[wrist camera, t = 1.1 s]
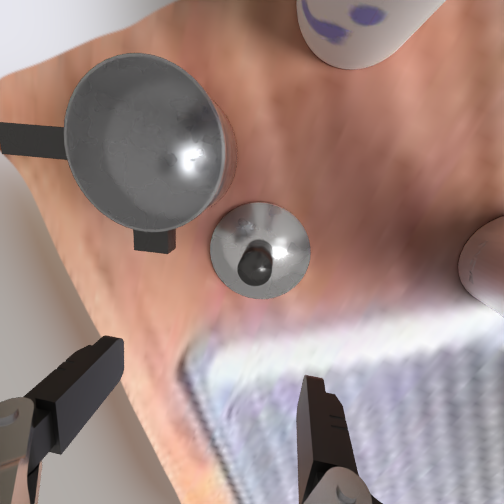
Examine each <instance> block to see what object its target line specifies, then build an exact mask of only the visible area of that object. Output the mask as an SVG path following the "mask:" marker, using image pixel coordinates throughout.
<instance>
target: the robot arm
mask: <svg viewBox="0 0 504 504" xmlns="http://www.w3.org/2000/svg"><path fill="white" fill-rule="evenodd" d="M458 270H459V277H460V280H461V283H462V284H463V286H464V287H465V289H466V290H467V291H468V292H469V293H470V294H471V295H472V296H474V297H475V298H476V299H478V300H479V301H481V302H482V303H484V304H485V305H487V306H488V307H490V308H491V309H493V310H494V311H496V312H497V313H499V314H500V315H501V316H503V317H504V216H502V217H499V218H497V219H495V220H493V221H490V222H489V223H487V224H486V225H484V226H483V227H481V228H480V229H479V230H477V231H476V232H475V233H474V234H473V235H472V236H471V237H470V239H469V240H468V242H467V243H466V244H465V246H464V248H463V250H462V252H461V255H460V259H459V264H458ZM123 371H124V341H123V339H121V338H116V337H111V336H103V337H102V338H100V339H99V340H98V341H97V342H96V343H95V344H94V345H93V346H91V345H88V346H86V347H84V348H82V349H80V350H78V351H76V352H75V353H74V354H72V355H71V356H70V357H69V358H68V359H67V360H66V362H63V363H62V364H61V365H60V366H59V367H58V368H57V369H55V370H54V371H53V372H52V373H50V374H49V375H48V376H47V377H46V378H45V379H43V380H42V381H41V382H40V383H39V384H38V385H36V387H34V388H33V389H32V390H31V391H30V392H29V393H27V394H26V395H25V396H24V397H18V398H11V399H8V400H5V401H2V402H0V504H38V497H39V488H40V480H41V471H42V459H43V458H44V457H45V456H46V455H47V453H48V452H52V453H56V454H62V453H63V452H64V450H65V449H66V448H67V447H68V445H69V444H70V443H71V442H72V440H73V439H74V438H75V437H76V435H77V434H78V433H79V432H80V430H81V429H82V428H83V426H84V425H85V424H86V423H87V421H88V420H89V419H90V418H91V416H92V415H93V414H94V413H95V411H96V410H97V409H98V408H99V406H100V405H101V404H102V402H103V401H104V400H105V399H106V398H107V396H108V395H109V394H110V392H111V391H112V390H113V389H114V387H115V386H116V385H117V384H118V382H119V381H120V379H121V377H122V374H123ZM296 422H297V454H298V487H299V504H383V503H381V502H379V501H378V500H377V499H376V498H374V497H373V496H372V495H371V494H370V492H369V490H368V488H367V486H366V484H365V483H364V481H363V480H362V479H361V478H360V477H359V475H358V471H357V467H356V463H355V458H354V454H353V449H352V445H351V441H350V436H349V432H348V427H347V423H346V421H345V414H344V410H343V406H342V404H341V403H340V401H339V400H338V398H337V397H336V395H335V394H330V393H326V391H325V385H324V380H323V378H318V377H313V376H308V375H305V376H304V379H303V383H302V388H301V392H300V397H299V401H298V406H297V417H296Z"/></svg>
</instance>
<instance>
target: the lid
mask: <svg viewBox="0 0 504 504" xmlns="http://www.w3.org/2000/svg"><path fill="white" fill-rule="evenodd" d="M210 255H211V261H212V264H213V267H214V269H215V272H216V273H217V275H218V277H219V278H220V279H221V280H222V282H223V283H224V284H225V285H226V286H227V287H229V288H230V289H231V290H233V291H234V292H236V293H238V294H240V295H242V296H245V297H249V298H254V299H269V298H274V297H278V296H280V295H283V294H285V293H287V292H288V291H290V290H291V289H293V288H294V287H295V286H296V285H297V284H298V283H299V282H300V281H301V279H302V278H303V276H304V275H305V273H306V271H307V268H308V265H309V261H310V243H309V239H308V236H307V233H306V231H305V229H304V227H303V225H302V224H301V223H300V221H299V220H298V219H297V218H296V217H295V216H294V215H293V214H292V213H291V212H289V211H288V210H286V209H284V208H282V207H280V206H278V205H275V204H272V203H266V202H254V203H248V204H244V205H241V206H239V207H237V208H235V209H233V210H232V211H230V212H229V213H228V214H226V215H225V216H224V217H223V218H222V219H221V221H220V222H219V223H218V225H217V227H216V228H215V230H214V233H213V235H212V239H211V245H210Z"/></svg>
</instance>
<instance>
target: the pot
mask: <svg viewBox="0 0 504 504" xmlns="http://www.w3.org/2000/svg"><path fill="white" fill-rule="evenodd" d="M0 144H1V149H2V154H10V155H21V156H31V157H42V158H53V159H64V160H68V163H69V166H70V169H71V171H72V174H73V176H74V178H75V180H76V182H77V184H78V186H79V187H80V189H81V190H82V192H83V193H84V195H85V196H86V197H87V198H88V200H89V201H90V202H91V203H92V204H93V205H94V206H95V207H96V208H97V209H98V210H99V211H100V212H101V213H103V214H104V215H105V216H107V217H108V218H110V219H111V220H113V221H115V222H116V223H118V224H121V225H123V226H125V227H128V228H131V229H133V233H134V250H138V251H147V252H155V253H164V254H168V253H170V252H171V251H172V250H174V249H175V248H176V228H178V227H180V226H183V225H185V224H186V223H188V222H190V221H192V220H193V219H195V218H196V217H197V216H199V215H200V214H201V213H202V212H203V211H205V210H207V209H208V208H210V207H212V206H213V205H214V204H216V203H217V202H218V201H219V200H220V199H221V198H222V197H223V196H224V194H225V193H226V192H227V190H228V189H229V187H230V185H231V183H232V181H233V178H234V175H235V171H236V167H237V143H236V139H235V135H234V132H233V129H232V126H231V124H230V122H229V120H228V118H227V117H226V115H225V114H224V112H223V111H222V110H221V108H220V107H219V106H218V105H217V104H216V103H215V102H214V101H213V100H212V99H211V98H210V97H209V96H208V94H207V93H206V91H205V90H204V89H203V88H202V87H201V85H200V84H199V83H198V82H197V81H196V80H195V79H194V78H193V77H192V76H191V75H189V74H188V73H187V72H186V71H185V70H183V69H182V68H180V67H179V66H177V65H176V64H174V63H172V62H170V61H168V60H166V59H164V58H161V57H157V56H154V55H150V54H143V53H127V54H122V55H117V56H114V57H111V58H109V59H106V60H104V61H103V62H101V63H99V64H97V65H96V66H95V67H93V68H92V69H91V70H90V71H88V73H87V74H86V75H85V76H84V77H83V78H82V79H81V80H80V82H79V83H78V85H77V86H76V88H75V90H74V92H73V94H72V96H71V98H70V101H69V104H68V107H67V110H66V115H65V121H64V127H52V126H40V125H28V124H16V123H4V122H0Z"/></svg>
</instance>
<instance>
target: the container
mask: <svg viewBox="0 0 504 504" xmlns="http://www.w3.org/2000/svg"><path fill="white" fill-rule="evenodd" d="M445 1H446V0H297V4H296V5H297V17H298V23H299V27H300V30H301V33H302V35H303V37H304V39H305V41H306V43H307V45H308V46H309V48H310V49H311V50H312V51H313V53H314V54H315V55H316V56H318V57H319V58H320V59H321V60H323V61H324V62H326V63H327V64H330V65H332V66H334V67H337V68H342V69H362V68H367V67H370V66H373V65H375V64H378V63H380V62H381V61H383V60H385V59H386V58H388V57H389V56H391V55H392V54H393V53H395V52H396V51H397V50H398V49H399V48H400V47H401V46H402V45H403V44H404V43H405V42H406V41H407V40H408V39H409V38H410V37H411V36H412V35H413V34H414V33H415V32H416V31H417V30H418V28H419V27H420V26H421V25H422V24H423V23H424V22H425V21H426V20H427V19H428V18H429V17H430V16H431V15H432V14H433V13H434V12H435V11H436V10H437V9H438V8H439V7H440V6H441V5H442V4H443V3H444V2H445Z"/></svg>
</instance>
